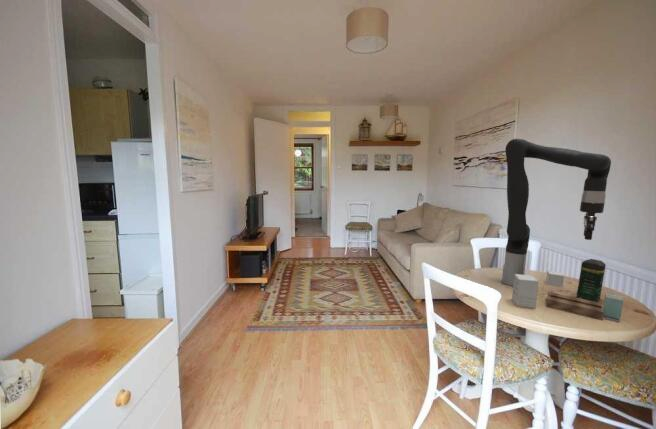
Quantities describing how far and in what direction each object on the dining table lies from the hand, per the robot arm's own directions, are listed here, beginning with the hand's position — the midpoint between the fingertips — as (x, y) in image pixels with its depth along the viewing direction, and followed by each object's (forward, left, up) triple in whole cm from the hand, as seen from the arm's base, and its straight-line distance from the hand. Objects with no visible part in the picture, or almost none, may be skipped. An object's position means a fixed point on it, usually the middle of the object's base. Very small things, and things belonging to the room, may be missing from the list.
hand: (587, 237), depth 124 cm
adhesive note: (-9, +21, -30) cm, 38 cm away
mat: (+10, -10, -30) cm, 33 cm away
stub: (+10, -10, -30) cm, 33 cm away
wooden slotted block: (-2, -10, -30) cm, 32 cm away
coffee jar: (+4, +9, -30) cm, 32 cm away
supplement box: (-19, -19, -30) cm, 40 cm away
